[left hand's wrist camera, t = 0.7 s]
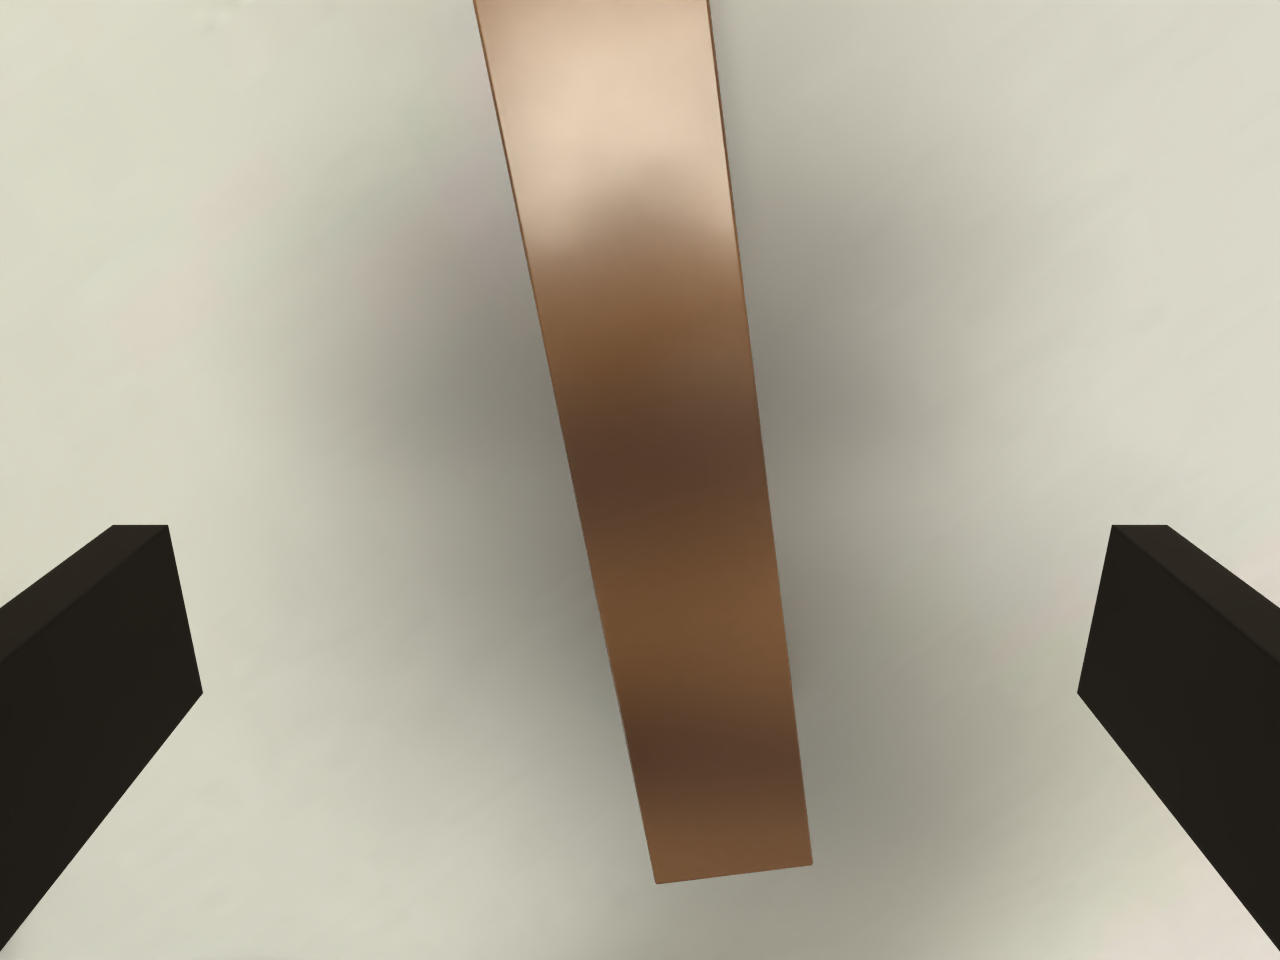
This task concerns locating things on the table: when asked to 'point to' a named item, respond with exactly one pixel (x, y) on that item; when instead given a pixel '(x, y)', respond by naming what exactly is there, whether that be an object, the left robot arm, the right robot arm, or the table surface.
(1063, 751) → the table surface
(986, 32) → the table surface
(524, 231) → the beam
